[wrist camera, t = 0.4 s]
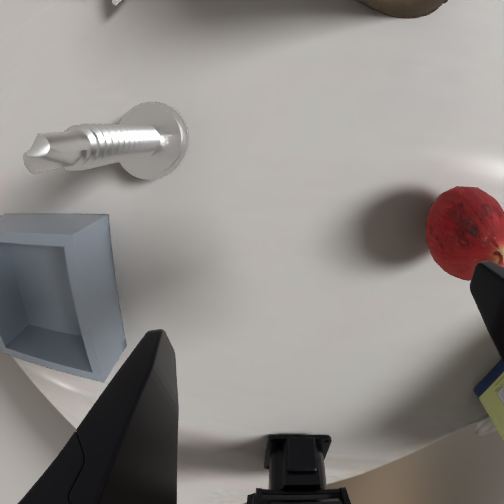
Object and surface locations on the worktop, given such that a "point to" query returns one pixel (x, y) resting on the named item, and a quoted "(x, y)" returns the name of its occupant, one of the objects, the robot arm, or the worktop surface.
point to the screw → (117, 144)
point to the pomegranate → (465, 231)
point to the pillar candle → (405, 7)
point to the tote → (60, 293)
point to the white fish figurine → (116, 2)
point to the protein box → (493, 396)
